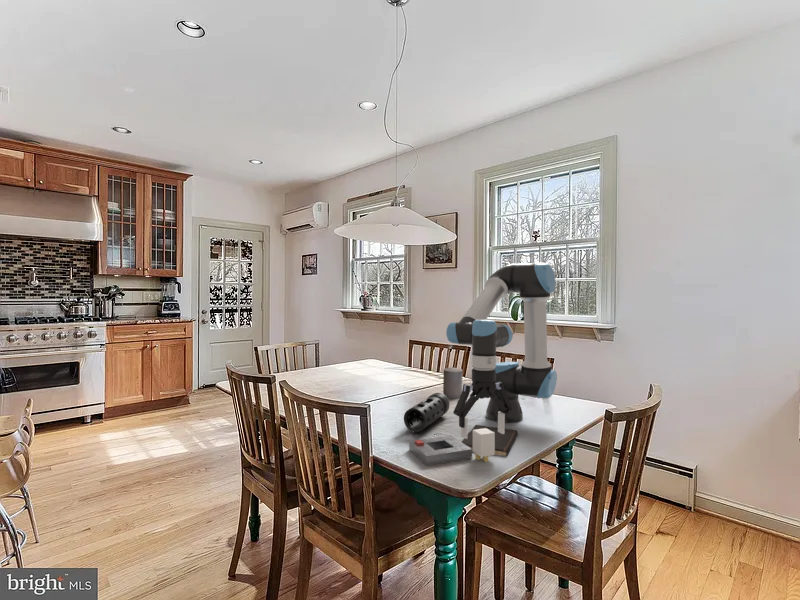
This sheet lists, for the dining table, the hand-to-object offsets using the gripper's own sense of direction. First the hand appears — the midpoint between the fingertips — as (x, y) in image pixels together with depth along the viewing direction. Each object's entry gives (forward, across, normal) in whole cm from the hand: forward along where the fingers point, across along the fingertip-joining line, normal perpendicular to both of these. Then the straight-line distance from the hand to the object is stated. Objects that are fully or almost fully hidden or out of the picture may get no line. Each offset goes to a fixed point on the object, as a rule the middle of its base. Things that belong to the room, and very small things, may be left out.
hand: (483, 435), depth 137 cm
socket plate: (+8, -11, +9) cm, 16 cm away
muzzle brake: (+8, -1, +39) cm, 40 cm away
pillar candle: (+7, +30, +76) cm, 82 cm away
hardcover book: (+8, +11, +13) cm, 19 cm away
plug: (+8, 0, 0) cm, 8 cm away
